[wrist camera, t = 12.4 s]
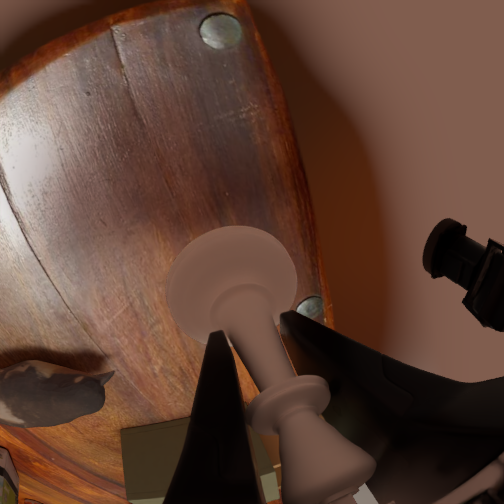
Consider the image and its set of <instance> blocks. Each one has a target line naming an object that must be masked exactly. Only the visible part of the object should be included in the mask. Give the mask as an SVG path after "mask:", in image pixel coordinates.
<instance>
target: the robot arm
mask: <svg viewBox="0 0 504 504" xmlns="http://www.w3.org/2000/svg"><path fill="white" fill-rule="evenodd" d="M466 231H467V226H466V225H461V226H458V227H456V228H453V229H450V230H447V231H444V232H442V233H440V235H439V238H438V244H437V249H436V254H435V259H434V264H433V269H432V274H431V278H433V279H436V278H438V277H440V276H442V275H444V276H446V277H447V278H448V279H450V280H451V281H453V282H454V283H456V284H458V285H460V286H461V287H463V288H464V289H465V290H467V291H468V292H467V294H466V296H465V298H463V301H462V303H463V304H464V305H465V307H466V308H467V309H468V310H469V311H470V312H471V313H472V314H473V315H474V316H475V318H476V319H477V320H478V321H479V322H480V323H481V325H482V326H483V327H490V328H492V329H495V330H496V331H499V332H504V245H503V244H501V243H500V242H497V241H495V240H493V239H490V238H489V240H488V245H487V247H485V246H483V245H481V244H479V243H478V242H476V241H474V240H472V239H470V238H468V237H467V236H466ZM501 250H502V253H501ZM279 319H280V334H281V338H282V341H283V343H284V345H285V347H286V350H287V352H288V354H289V356H290V359H291V361H292V363H293V366H294V368H295V370H296V372H297V374H298V376H302V375H316V376H319V377H322V378H324V379H325V380H326V381H327V383H328V385H329V391H330V393H331V398H330V401H329V404H328V406H327V407H326V409H325V410H324V411H323V412H322V413H321V415H322V416H323V418H324V419H325V421H326V422H327V423H329V424H330V425H331V426H333V427H334V428H335V429H337V430H338V432H339V433H340V434H342V435H343V436H344V437H345V438H346V439H348V440H349V441H350V442H352V443H353V444H355V445H357V446H358V447H360V448H362V449H363V450H364V451H366V452H367V453H368V454H369V455H371V456H372V457H373V458H374V459H375V461H376V464H377V466H376V469H375V472H374V473H373V475H372V476H371V478H370V479H369V480H368V481H367V482H365V484H366V485H367V487H368V488H369V490H370V491H371V492H372V494H373V495H374V497H375V499H376V500H377V502H378V503H379V504H388V503H390V502H391V501H394V502H395V504H504V376H503V377H499V378H495V379H490V380H486V381H481V382H476V383H465V382H459V381H455V380H452V379H449V378H445V377H442V376H439V375H436V374H433V373H430V372H427V371H424V370H420V369H418V368H415V367H413V366H410V365H407V364H404V363H402V362H400V361H398V360H395V359H393V358H391V357H389V356H387V355H384V354H381V353H380V352H378V351H376V350H374V349H371V348H369V347H367V346H365V345H363V344H361V343H359V342H356V341H355V340H353V339H350V338H348V337H346V336H344V335H342V334H340V333H338V332H336V331H334V330H332V329H330V328H328V327H326V326H324V325H322V324H320V323H318V322H316V321H314V320H312V319H310V318H308V317H306V316H304V315H302V314H300V313H298V312H296V311H294V310H289V311H286V312H283V313H281V314H280V316H279ZM245 412H246V409H245V404H244V399H243V395H242V391H241V387H240V382H239V378H238V374H237V369H236V365H235V360H234V356H233V353H232V351H231V348H230V346H229V343H228V341H227V338H226V336H225V333H224V331H223V330H218V331H214V332H211V333H210V334H209V337H208V341H207V346H206V350H205V354H204V359H203V363H202V367H201V371H200V376H199V380H198V385H197V389H196V393H195V398H194V402H193V407H192V411H191V416H190V422H189V424H188V429H187V434H186V437H185V441H184V445H183V449H182V452H181V455H180V458H179V461H178V464H177V466H176V469H175V472H174V474H173V477H172V480H171V482H170V485H169V487H168V490H167V493H166V495H165V498H164V501H163V503H162V504H267V503H266V499H265V495H264V491H263V486H262V482H261V478H260V474H259V469H258V465H257V460H256V456H255V451H254V447H253V442H252V438H251V433H250V428H249V425H248V424H247V420H246V416H245Z"/></svg>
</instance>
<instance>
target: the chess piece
mask: <svg viewBox="0 0 504 504" xmlns="http://www.w3.org/2000/svg"><path fill="white" fill-rule="evenodd" d="M296 291H297V274H296V269H295V266H294V264H293V261H292V260H291V258H290V256H289V254H288V252H287V251H286V249H285V248H284V246H283V245H282V244H281V243H280V242H279V241H278V240H277V239H276V238H275V237H273V236H272V235H270V234H269V233H267V232H265V231H263V230H260V229H257V228H254V227H249V226H226V227H221V228H217V229H214V230H211V231H209V232H206V233H204V234H202V235H201V236H199V237H197V238H196V239H194V240H193V241H191V242H190V243H189V244H188V245H187V246H186V247H185V248H183V250H182V251H181V252H180V253H179V254H178V256H177V257H176V258H175V260H174V262H173V263H172V265H171V267H170V270H169V273H168V276H167V280H166V299H167V303H168V306H169V308H170V311H171V314H172V316H173V319H174V320H175V322H176V324H177V325H178V326H179V328H180V329H181V330H182V331H183V332H184V333H185V334H187V335H188V336H189V337H191V338H192V339H194V340H196V341H198V342H200V343H203V344H206V345H207V341H208V337H209V334H210V333H211V332H214V331H218V330H223V331H224V333H225V336H226V338H227V341H228V343H229V346H230V347H232V346H233V347H234V349H235V350H236V352H237V354H238V355H239V357H240V359H241V360H242V362H243V364H244V366H245V367H246V369H247V370H248V372H249V374H250V376H251V377H252V379H253V381H254V383H255V385H256V386H257V388H258V390H259V392H260V394H259V395H257V396H256V397H255V398H254V399H253V400H252V401H251V403H250V404H249V406H248V407H247V409H246V412H245V416H246V420H247V424H248V425H249V426H251V428H252V429H253V430H254V431H255V432H256V433H258V434H262V435H279V457H280V462H281V476H282V480H281V495H282V502H283V504H357V503H356V501H355V499H354V498H353V495H354V494H356V493H357V492H358V491H359V489H358V488H359V487H360V486H362V485H363V484H364V483H365V482H367V481H368V480H369V479H370V478H371V476H372V475H373V473H374V472H375V469H376V466H377V464H376V461H375V459H374V458H373V457H372V456H371V455H369V454H368V453H367V452H366V451H364V450H363V449H362V448H360V447H358V446H357V445H355V444H353V443H352V442H350V441H349V440H348V439H346V438H345V437H344V436H343V435H342V434H340V433H339V432H338V430H337V429H335V428H334V427H333V426H331V425H330V424H329V423H327V422H326V421H324V420H323V419H322V418H320V417H319V415H320V414H321V413H322V412H323V411H324V410H325V409H326V407H327V406H328V404H329V401H330V398H331V393H330V391H329V385H328V383H327V381H326V380H325V379H324V378H322V377H319V376H316V375H302V376H295V373H294V371H293V368H292V366H291V363H290V361H289V359H288V357H287V354H286V351H285V349H284V346H283V344H282V341H281V338H280V336H279V333H278V330H277V328H276V326H277V325H278V324H279V323H280V319H279V316H280V314H281V313H283V312H286V311H289V310H290V308H291V306H292V304H293V302H294V299H295V296H296ZM388 504H395V502H394V501H391V502H390V503H388Z"/></svg>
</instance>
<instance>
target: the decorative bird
mask: <svg viewBox="0 0 504 504" xmlns="http://www.w3.org/2000/svg"><path fill="white" fill-rule="evenodd" d="M114 372H115V370H114V371H111V372H108V373H104V374H99V375H93V374H89V373H86V372H83V371H78V370H72V369H70V368H68V367H63V366H59V365H55V364H50V363H47V362H42V361H38V360H28V361H23V362H20V363H17V364H14V365H11V366H9V367H6V368H3V369H0V423H1V424H5V425H9V426H13V427H21V428H30V427H49V426H56V425H59V424H63V423H68V422H70V421H72V420H74V419H76V418H78V417H80V416H83V415H88V414H92V413H95V412H97V411H99V410H100V409H101V408H102V407H103V405H104V401H105V389H104V386H103V385H104V384H105V383H106V382H108V381H109V379H110V378H111V377H112V376H113V375H114Z"/></svg>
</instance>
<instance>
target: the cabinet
mask: <svg viewBox="0 0 504 504" xmlns="http://www.w3.org/2000/svg"><path fill="white" fill-rule="evenodd" d="M244 404H245V409H247V407H248V406H247V403H246V402H244ZM189 422H190V417H187V418H183V419H178V420H173V421H169V422H163V423H158V424H153V425H147V426H141V427H135V428H128V429H121V445H122V459H123V470H124V479H125V487H126V495H127V501H129V502H131V503H133V504H162V503H163V501H164V498H165V495H166V493H167V490H168V487H169V485H170V482H171V480H172V477H173V474H174V472H175V469H176V466H177V464H178V461H179V458H180V455H181V452H182V449H183V445H184V441H185V437H186V434H187V429H188V424H189ZM249 428H250V433H251V438H252V442H253V447H254V451H255V456H256V460H257V465H258V469H259V474H260V478H261V482H262V486H263V491H264V495H265V499H266V502H270V501H273V500H276V499H279V498H280V496H279V490H278V484H277V478H276V472H275V469H274V467H273V465H272V463H271V460H270V458H269V456H268V454H267V451H266V449H265V447H264V444H263V442H262V440H261V437H260V435H259V434H258V433H256V432H255V431H254V430H253V429H252V428H251V426H249Z"/></svg>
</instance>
